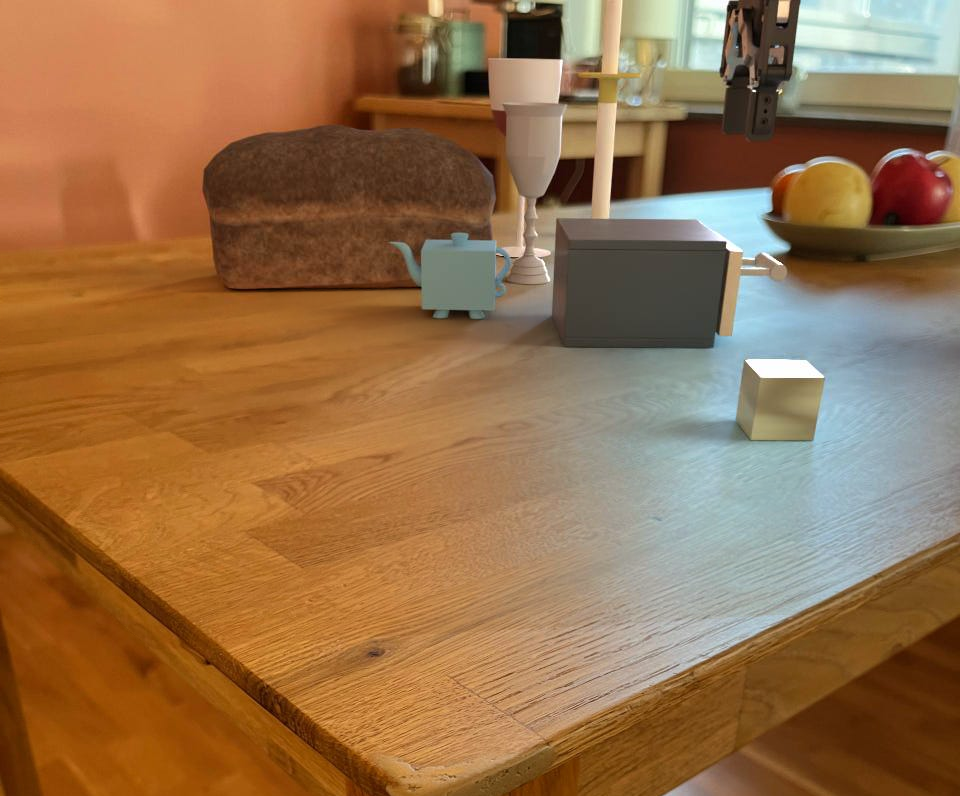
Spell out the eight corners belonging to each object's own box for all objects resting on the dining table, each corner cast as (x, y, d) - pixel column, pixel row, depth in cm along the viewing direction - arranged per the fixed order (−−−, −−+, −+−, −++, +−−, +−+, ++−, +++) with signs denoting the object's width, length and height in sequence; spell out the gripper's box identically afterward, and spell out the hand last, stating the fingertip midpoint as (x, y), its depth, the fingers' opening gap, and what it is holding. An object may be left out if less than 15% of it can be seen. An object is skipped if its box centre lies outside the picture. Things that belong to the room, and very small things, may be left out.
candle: (555, 232, 148) (570, -82, 129) (621, 231, 150) (645, -80, 131) (573, 243, 139) (591, -91, 121) (643, 242, 141) (672, -88, 122)
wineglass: (563, 249, 135) (573, 59, 124) (536, 261, 128) (544, 59, 117) (503, 244, 138) (507, 58, 127) (473, 255, 131) (475, 58, 120)
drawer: (754, 308, 102) (765, 231, 98) (786, 336, 92) (800, 251, 88) (580, 307, 101) (585, 229, 98) (594, 335, 91) (600, 249, 88)
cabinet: (686, 316, 103) (696, 219, 98) (713, 348, 92) (727, 241, 87) (551, 314, 102) (556, 218, 98) (563, 347, 91) (569, 239, 87)
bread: (501, 289, 113) (505, 130, 105) (207, 293, 109) (187, 128, 101) (483, 264, 125) (485, 120, 117) (219, 267, 121) (202, 119, 113)
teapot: (388, 318, 100) (385, 237, 96) (394, 304, 105) (391, 227, 101) (509, 320, 100) (511, 239, 96) (509, 306, 105) (511, 229, 101)
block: (795, 420, 74) (805, 360, 72) (813, 440, 70) (825, 377, 68) (735, 420, 74) (743, 359, 72) (750, 440, 70) (760, 377, 68)
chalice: (485, 278, 118) (488, 103, 109) (528, 271, 122) (534, 101, 113) (528, 288, 113) (534, 106, 104) (571, 281, 117) (581, 105, 108)
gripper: (849, -101, 75) (812, 144, 83) (793, -80, 87) (766, 131, 95) (748, -101, 75) (721, 144, 83) (706, -80, 87) (686, 131, 95)
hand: (745, 137), depth 89 cm, fingers open, 8 cm apart
